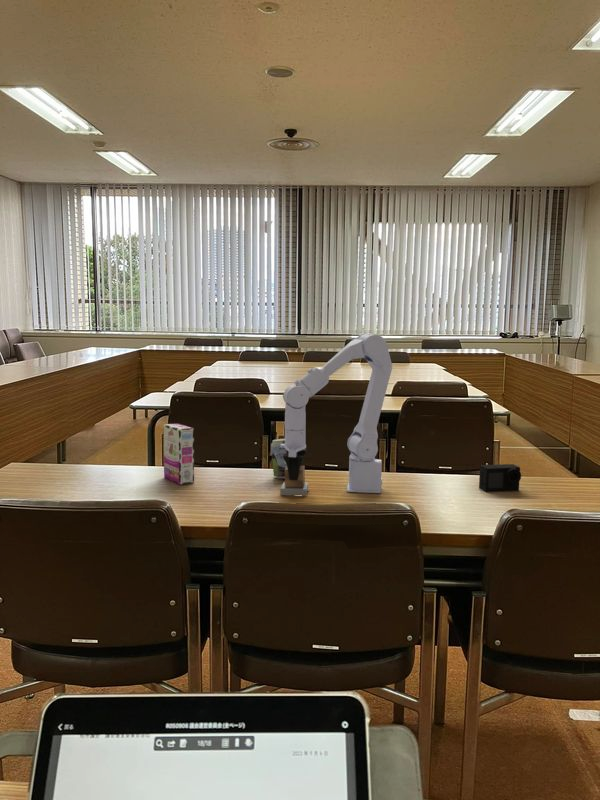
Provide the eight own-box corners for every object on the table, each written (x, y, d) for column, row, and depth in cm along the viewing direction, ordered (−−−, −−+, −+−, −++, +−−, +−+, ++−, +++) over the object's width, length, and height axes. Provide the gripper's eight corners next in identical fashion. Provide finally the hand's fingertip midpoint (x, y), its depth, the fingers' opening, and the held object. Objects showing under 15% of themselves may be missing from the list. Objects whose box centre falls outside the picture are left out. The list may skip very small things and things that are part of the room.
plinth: (308, 489, 183) (308, 482, 183) (306, 496, 176) (306, 489, 176) (283, 488, 184) (283, 482, 184) (280, 495, 177) (280, 488, 177)
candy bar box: (195, 483, 190) (194, 427, 187) (179, 485, 187) (179, 429, 184) (178, 475, 198) (177, 422, 196) (163, 477, 195) (162, 424, 193)
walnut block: (304, 483, 182) (304, 465, 182) (303, 487, 177) (302, 469, 177) (287, 482, 183) (287, 465, 182) (284, 487, 178) (284, 469, 177)
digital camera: (487, 493, 182) (488, 469, 181) (478, 488, 187) (479, 464, 186) (521, 492, 184) (522, 468, 183) (511, 487, 189) (512, 463, 188)
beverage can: (285, 481, 192) (285, 442, 190) (266, 477, 196) (266, 438, 195) (298, 477, 197) (298, 438, 195) (279, 473, 201) (279, 435, 200)
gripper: (284, 424, 185) (283, 470, 187) (277, 433, 171) (277, 483, 173) (308, 424, 185) (307, 471, 187) (303, 434, 170) (303, 484, 172)
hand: (294, 477), depth 180 cm, fingers closed on walnut block, 5 cm apart
